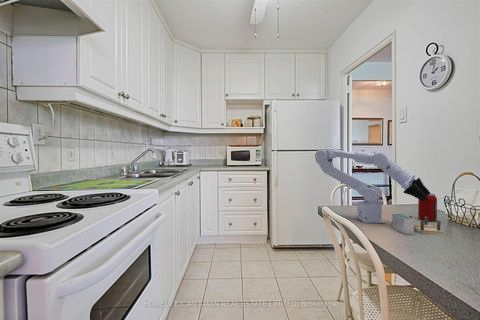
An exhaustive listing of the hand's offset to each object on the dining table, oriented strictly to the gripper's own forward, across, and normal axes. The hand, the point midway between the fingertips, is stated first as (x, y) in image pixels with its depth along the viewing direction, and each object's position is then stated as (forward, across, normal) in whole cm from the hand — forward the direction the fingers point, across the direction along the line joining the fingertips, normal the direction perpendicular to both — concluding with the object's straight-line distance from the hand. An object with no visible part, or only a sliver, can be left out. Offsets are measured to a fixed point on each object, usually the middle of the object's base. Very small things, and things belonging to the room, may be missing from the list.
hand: (427, 197), depth 95 cm
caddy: (+8, -3, +10) cm, 13 cm away
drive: (+3, -11, +13) cm, 17 cm away
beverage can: (+9, +15, +13) cm, 22 cm away
